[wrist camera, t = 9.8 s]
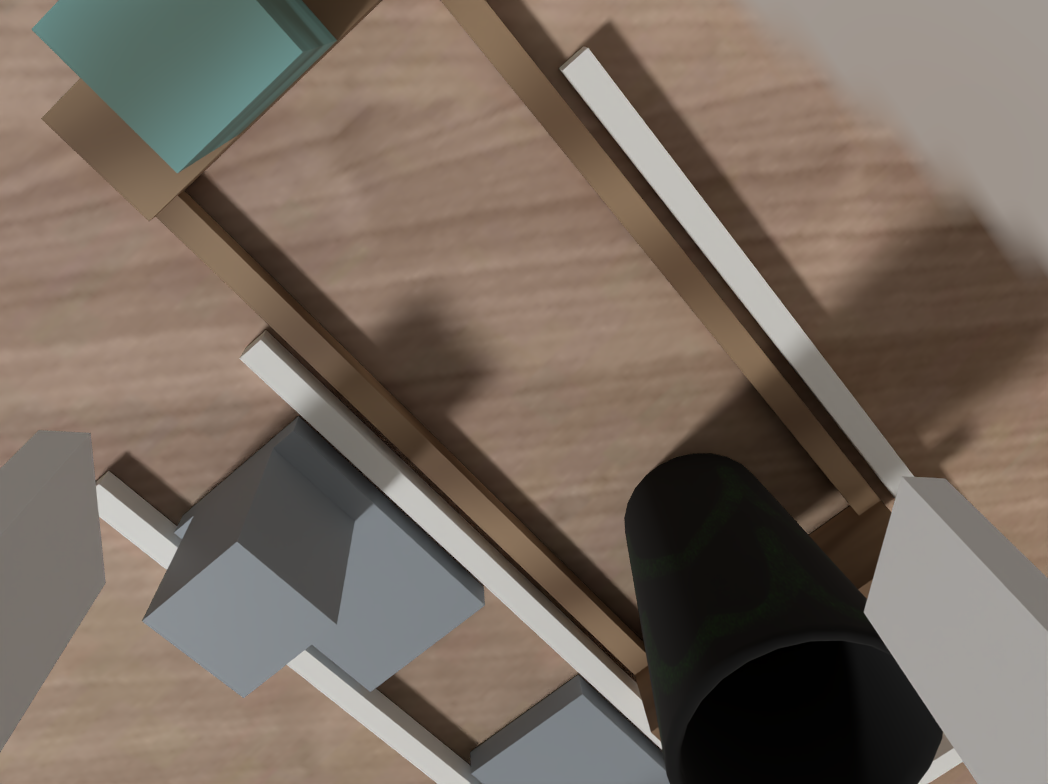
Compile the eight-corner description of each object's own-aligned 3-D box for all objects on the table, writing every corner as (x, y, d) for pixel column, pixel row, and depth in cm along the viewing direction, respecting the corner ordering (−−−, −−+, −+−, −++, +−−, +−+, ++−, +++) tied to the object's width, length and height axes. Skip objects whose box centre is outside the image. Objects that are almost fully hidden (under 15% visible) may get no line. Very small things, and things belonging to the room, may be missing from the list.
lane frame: (89, 487, 33) (77, 504, 32) (583, 46, 28) (589, 48, 27) (650, 935, 45) (655, 959, 44) (1061, 674, 40) (1079, 693, 39)
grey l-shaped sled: (182, 515, 34) (119, 640, 27) (298, 415, 32) (261, 520, 26) (372, 671, 37) (357, 816, 31) (483, 587, 36) (492, 717, 29)
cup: (719, 388, 33) (853, 577, 22) (828, 521, 36) (996, 748, 25) (557, 512, 35) (609, 745, 24) (673, 631, 38) (767, 890, 27)
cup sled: (60, 113, 28) (-88, 155, 20) (344, -177, 26) (300, -256, 18) (645, 675, 38) (696, 847, 31) (884, 506, 36) (1006, 645, 28)
